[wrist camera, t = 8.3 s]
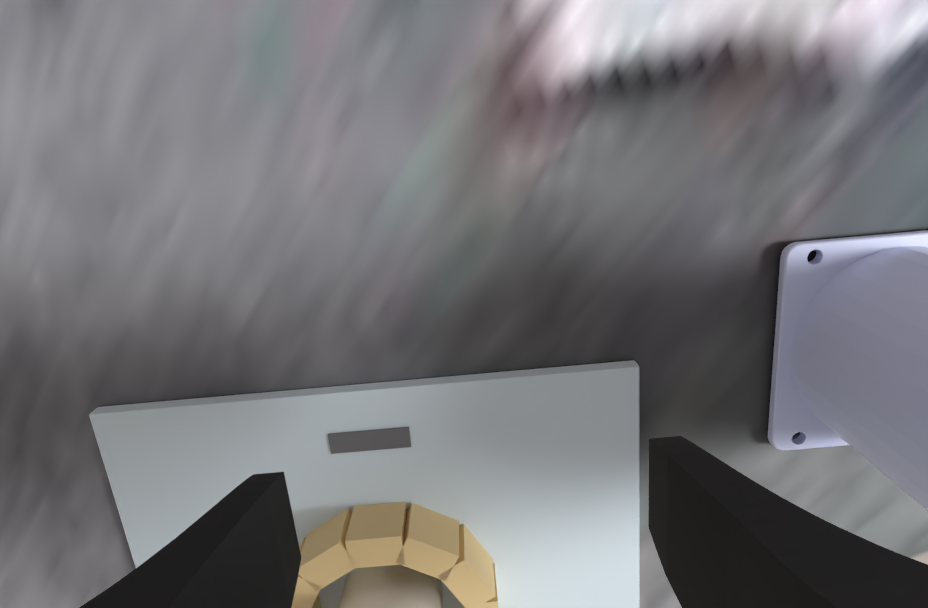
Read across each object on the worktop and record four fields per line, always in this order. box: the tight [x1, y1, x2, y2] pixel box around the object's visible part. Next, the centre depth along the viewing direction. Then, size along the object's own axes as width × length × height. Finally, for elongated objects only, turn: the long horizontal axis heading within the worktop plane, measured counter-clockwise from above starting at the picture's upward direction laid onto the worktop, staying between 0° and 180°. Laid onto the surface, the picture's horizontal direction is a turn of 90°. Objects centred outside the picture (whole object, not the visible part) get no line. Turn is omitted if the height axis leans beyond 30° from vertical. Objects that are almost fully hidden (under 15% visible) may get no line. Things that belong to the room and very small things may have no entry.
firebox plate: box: [89, 360, 639, 608], centre depth 24 cm, size 20×18×3 cm
